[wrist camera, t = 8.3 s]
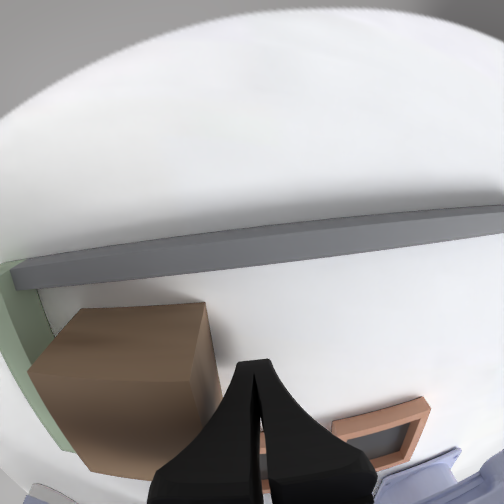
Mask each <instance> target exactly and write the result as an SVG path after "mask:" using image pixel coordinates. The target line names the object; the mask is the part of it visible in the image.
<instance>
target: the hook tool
mask: <svg viewBox="0 0 504 504" xmlns="http://www.w3.org/2000/svg"><path fill="white" fill-rule="evenodd" d="M500 233H504V205H492V206H477V207H462V208H449V209H436V210H423V211H411V212H399V213H388V214H377V215H366V216H355V217H345V218H335V219H325V220H315V221H306V222H297V223H287V224H278V225H269V226H261V227H252V228H243V229H235V230H227V231H218V232H210V233H202V234H195V235H187V236H179V237H171V238H164V239H156V240H149V241H142V242H135V243H128V244H121V245H114V246H107V247H100V248H93V249H86V250H80V251H73V252H67V253H60V254H54V255H48V256H42V257H35V258H29V259H23V260H17V261H11V262H6V263H2V264H0V351H1V353H2V355H3V358H4V360H5V362H6V363H7V365H8V367H9V369H10V371H11V373H12V375H13V377H14V379H15V380H16V382H17V384H18V386H19V387H20V389H21V391H22V393H23V394H24V396H25V398H26V399H27V401H28V403H29V404H30V406H31V407H32V409H33V411H34V412H35V414H36V415H37V417H38V418H39V420H40V421H41V423H42V424H43V426H44V427H45V428H46V430H47V431H48V433H49V434H50V435H51V437H52V438H53V440H54V441H55V442H56V444H57V445H58V446H59V448H60V449H61V450H63V451H68V452H72V453H76V452H75V450H74V449H73V448H72V446H71V445H70V443H69V442H68V440H67V439H66V438H65V436H64V435H63V433H62V432H61V430H60V429H59V427H58V426H57V424H56V422H55V421H54V419H53V418H52V416H51V414H50V413H49V411H48V410H47V408H46V406H45V405H44V403H43V401H42V399H41V398H40V396H39V394H38V392H37V390H36V389H35V387H34V385H33V383H32V381H31V379H30V377H29V375H28V373H27V371H28V369H29V368H30V367H31V366H32V364H33V363H34V362H35V361H36V360H37V358H38V357H39V356H40V355H41V354H42V352H43V351H44V350H45V349H46V348H47V346H48V345H49V344H50V343H51V342H52V341H53V339H54V336H53V333H52V331H51V329H50V326H49V323H48V321H47V318H46V316H45V313H44V310H43V307H42V304H41V302H40V299H39V296H38V293H37V290H36V289H42V288H52V287H63V286H74V285H84V284H94V283H104V282H114V281H124V280H134V279H143V278H153V277H162V276H171V275H181V274H190V273H199V272H208V271H216V270H225V269H234V268H243V267H251V266H260V265H268V264H276V263H285V262H293V261H301V260H309V259H317V258H325V257H333V256H341V255H349V254H356V253H364V252H372V251H379V250H387V249H394V248H402V247H409V246H416V245H423V244H431V243H438V242H445V241H452V240H459V239H466V238H473V237H480V236H486V235H493V234H500Z"/></svg>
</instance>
